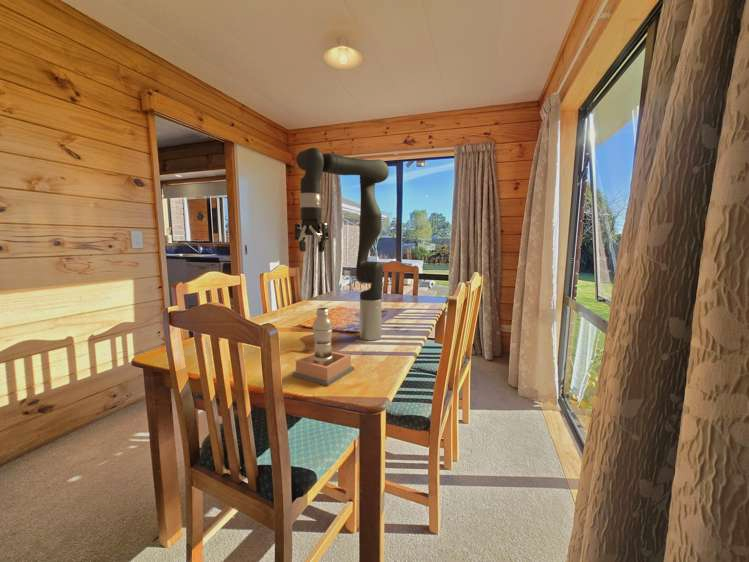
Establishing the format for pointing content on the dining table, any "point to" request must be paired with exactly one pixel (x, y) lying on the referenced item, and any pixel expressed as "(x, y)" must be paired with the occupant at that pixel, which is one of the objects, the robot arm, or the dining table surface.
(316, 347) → the grey tall ridged piece
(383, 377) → the dining table surface
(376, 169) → the robot arm
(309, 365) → the collar stand
